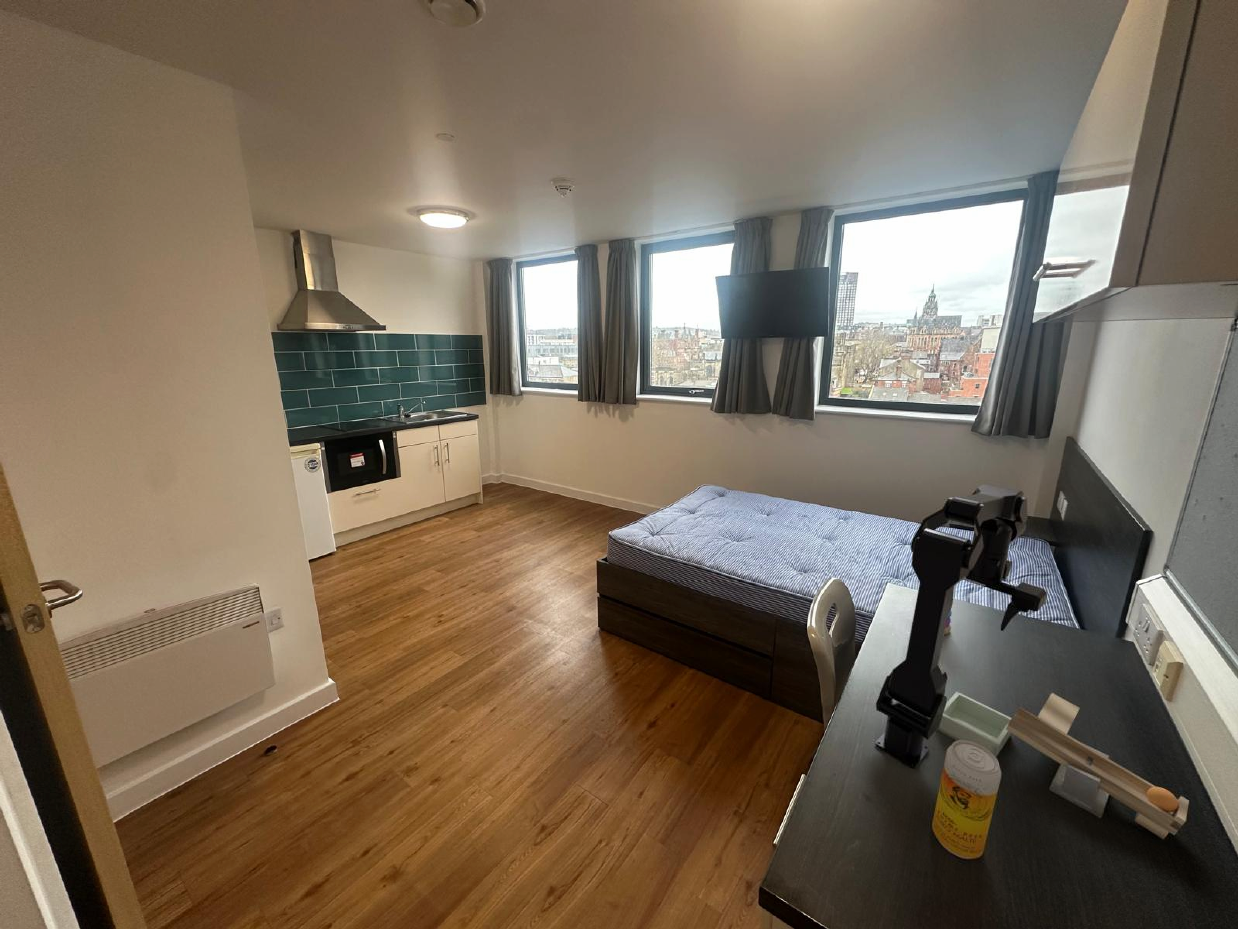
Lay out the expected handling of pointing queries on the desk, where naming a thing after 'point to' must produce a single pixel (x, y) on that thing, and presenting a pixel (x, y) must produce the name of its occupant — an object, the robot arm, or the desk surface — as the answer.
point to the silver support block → (1080, 788)
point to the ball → (1162, 799)
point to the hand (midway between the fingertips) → (974, 619)
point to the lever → (1093, 763)
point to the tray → (974, 723)
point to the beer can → (966, 799)
